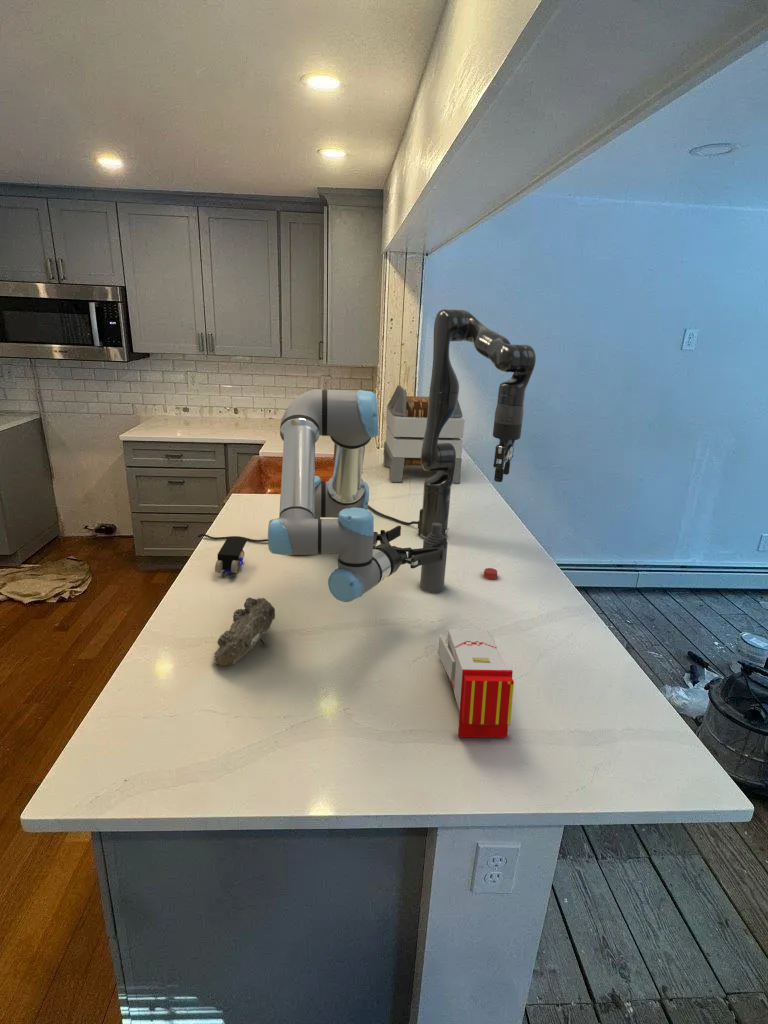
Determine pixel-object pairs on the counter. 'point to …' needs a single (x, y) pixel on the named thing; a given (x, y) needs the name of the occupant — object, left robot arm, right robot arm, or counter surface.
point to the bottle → (433, 564)
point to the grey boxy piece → (415, 433)
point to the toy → (478, 682)
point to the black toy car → (230, 556)
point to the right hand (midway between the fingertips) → (501, 477)
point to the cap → (490, 573)
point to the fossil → (245, 630)
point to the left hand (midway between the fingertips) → (421, 536)
